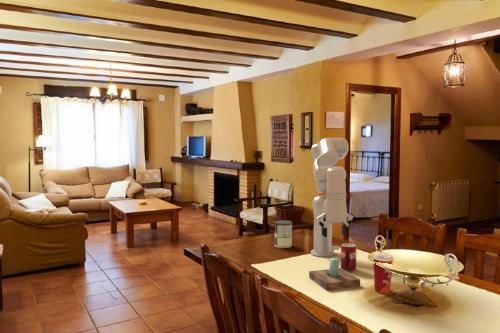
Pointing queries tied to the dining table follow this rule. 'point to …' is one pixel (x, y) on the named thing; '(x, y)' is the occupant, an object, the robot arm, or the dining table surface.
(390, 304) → the dining table surface
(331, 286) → the socket board
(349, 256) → the soda can
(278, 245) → the coffee can
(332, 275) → the peg
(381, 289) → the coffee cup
